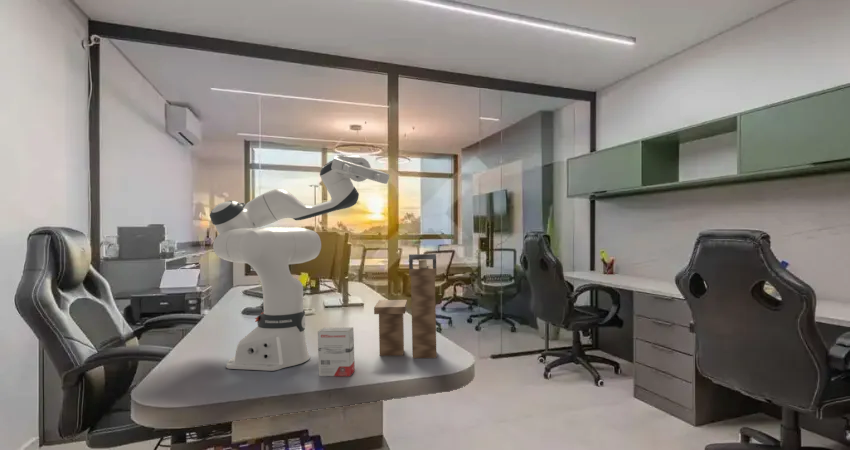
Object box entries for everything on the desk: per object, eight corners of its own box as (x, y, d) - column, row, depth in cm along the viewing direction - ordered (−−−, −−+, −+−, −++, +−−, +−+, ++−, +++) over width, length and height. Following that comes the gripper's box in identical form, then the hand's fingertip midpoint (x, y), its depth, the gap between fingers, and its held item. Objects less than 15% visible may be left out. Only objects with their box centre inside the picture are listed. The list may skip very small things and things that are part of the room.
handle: (418, 268, 123) (418, 260, 123) (419, 264, 138) (419, 257, 138) (426, 268, 123) (426, 260, 123) (426, 264, 138) (426, 257, 138)
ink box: (355, 370, 111) (354, 326, 111) (350, 376, 106) (349, 330, 106) (324, 370, 112) (323, 326, 112) (317, 376, 107) (317, 330, 107)
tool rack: (375, 358, 121) (373, 255, 121) (379, 346, 134) (378, 253, 134) (438, 357, 121) (436, 254, 121) (437, 345, 134) (435, 252, 134)
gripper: (382, 185, 155) (389, 190, 142) (328, 169, 148) (330, 173, 135) (387, 168, 154) (395, 172, 141) (333, 152, 147) (336, 155, 134)
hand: (363, 173), depth 138 cm, fingers open, 8 cm apart
